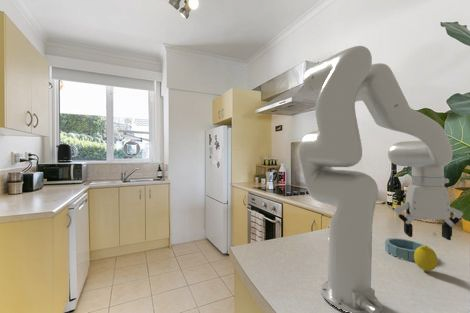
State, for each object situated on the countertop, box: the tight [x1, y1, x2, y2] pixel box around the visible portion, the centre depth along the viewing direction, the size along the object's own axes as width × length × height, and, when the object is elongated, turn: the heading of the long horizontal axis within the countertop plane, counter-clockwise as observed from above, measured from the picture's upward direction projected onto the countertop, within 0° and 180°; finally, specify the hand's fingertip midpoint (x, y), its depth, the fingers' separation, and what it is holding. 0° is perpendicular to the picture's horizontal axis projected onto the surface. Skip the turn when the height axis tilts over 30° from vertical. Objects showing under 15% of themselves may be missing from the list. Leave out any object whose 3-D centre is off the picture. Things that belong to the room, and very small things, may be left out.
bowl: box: [384, 237, 424, 262], centre depth 81 cm, size 12×12×4 cm
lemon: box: [414, 244, 439, 272], centre depth 69 cm, size 6×6×8 cm
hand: (427, 236), depth 69 cm, fingers open, 9 cm apart
